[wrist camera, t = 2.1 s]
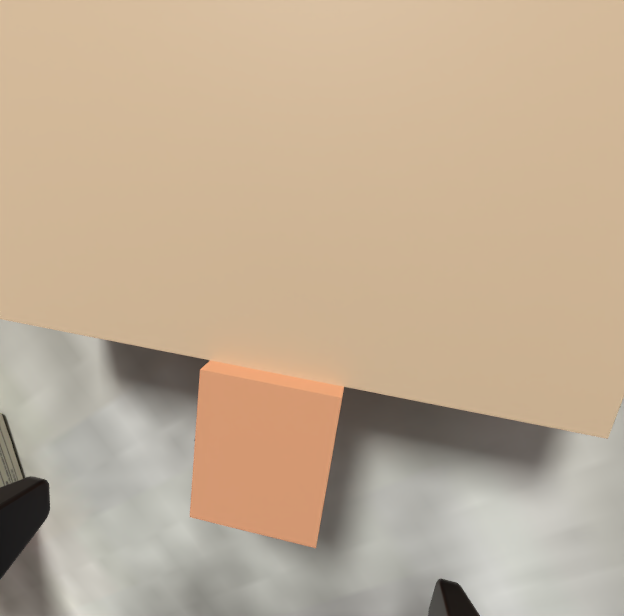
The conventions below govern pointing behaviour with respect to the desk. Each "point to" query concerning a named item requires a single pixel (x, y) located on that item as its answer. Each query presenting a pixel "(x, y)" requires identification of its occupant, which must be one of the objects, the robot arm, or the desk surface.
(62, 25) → the lid flap
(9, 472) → the small box
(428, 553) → the desk surface
